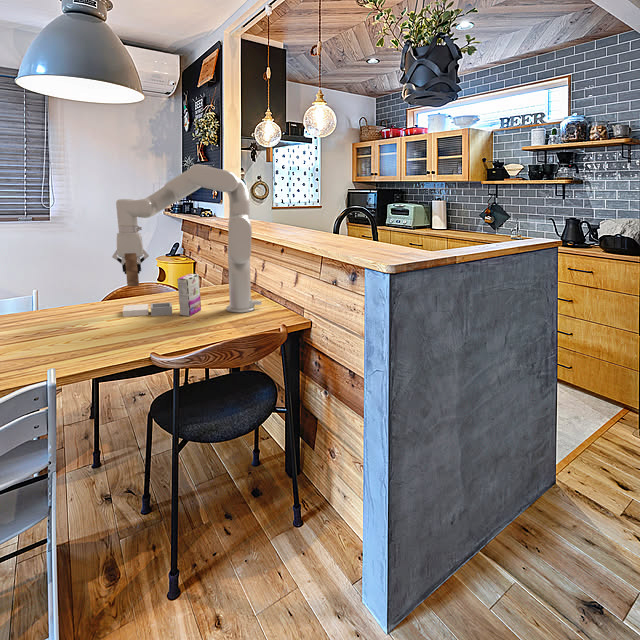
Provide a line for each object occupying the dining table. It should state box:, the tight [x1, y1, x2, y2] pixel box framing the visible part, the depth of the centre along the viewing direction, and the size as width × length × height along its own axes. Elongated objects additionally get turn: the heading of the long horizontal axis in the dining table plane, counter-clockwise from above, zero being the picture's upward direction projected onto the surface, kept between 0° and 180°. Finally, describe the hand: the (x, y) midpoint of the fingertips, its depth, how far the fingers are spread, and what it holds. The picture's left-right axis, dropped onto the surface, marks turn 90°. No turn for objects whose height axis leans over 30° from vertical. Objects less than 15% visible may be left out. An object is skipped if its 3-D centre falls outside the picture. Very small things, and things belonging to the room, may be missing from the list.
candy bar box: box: [177, 273, 202, 317], centre depth 203 cm, size 11×5×16 cm, turn 168°
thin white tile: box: [122, 303, 149, 318], centre depth 203 cm, size 10×10×2 cm
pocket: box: [150, 301, 173, 317], centre depth 203 cm, size 9×9×4 cm
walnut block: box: [124, 253, 140, 288], centre depth 198 cm, size 4×4×14 cm
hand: (132, 272), depth 198 cm, fingers closed on walnut block, 4 cm apart
